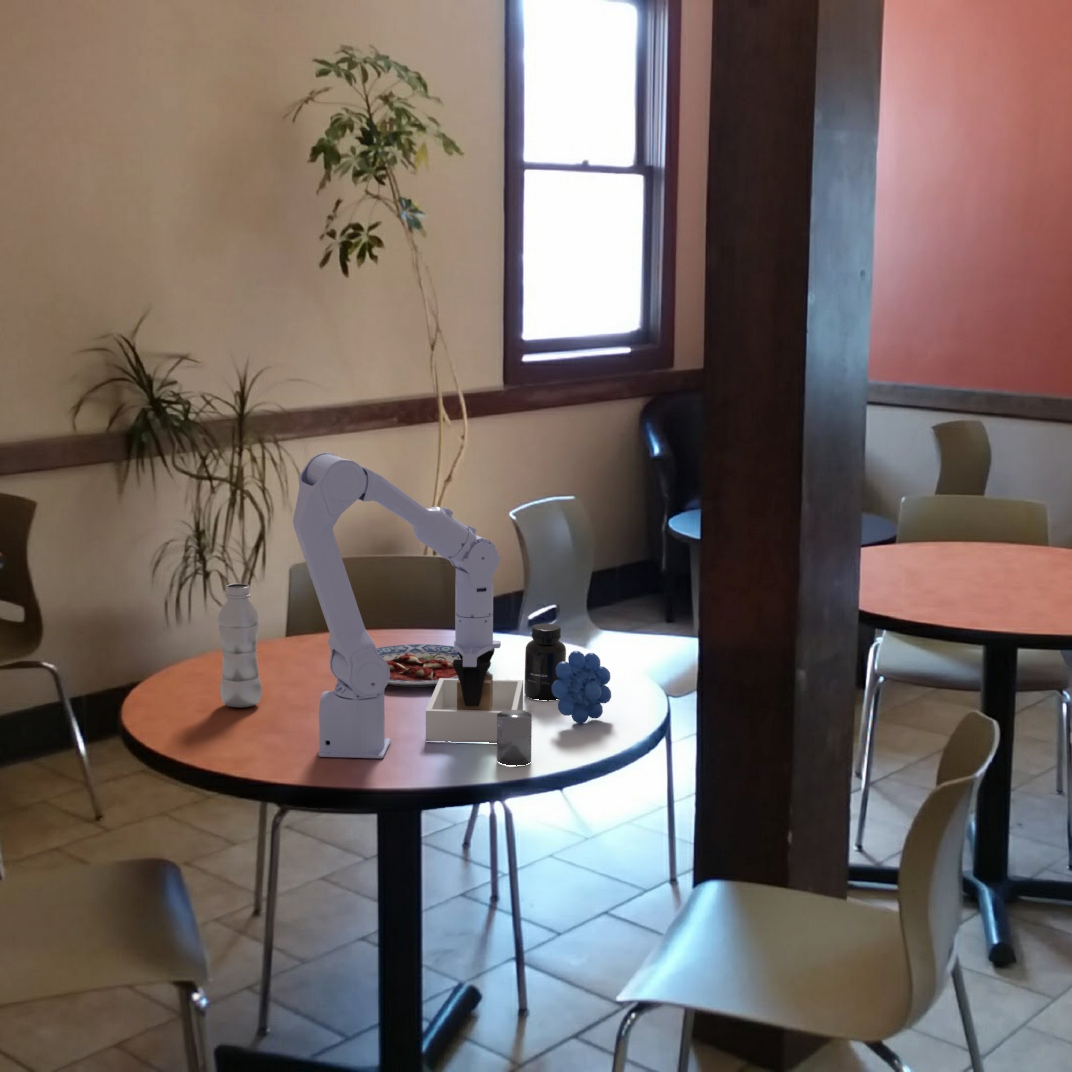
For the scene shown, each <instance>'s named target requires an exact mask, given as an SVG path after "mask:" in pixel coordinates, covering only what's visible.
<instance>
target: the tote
mask: <svg viewBox="0 0 1072 1072" xmlns="http://www.w3.org/2000/svg"><path fill="white" fill-rule="evenodd" d="M457 681H458V679H450V678H439V681H438V683H437V685H436V686H435V688H434V690H433V693H432V694H431V697H430V699H429V703H428V704H427V707H426V708H425V742H426V741H445V742H448V741H451V742H489V743H497V714H498V713H499V712H502V711H507V710H522V711H524V680H522V679H521V680H520V679H493V705H492V709H491V711H478V710H457Z"/></svg>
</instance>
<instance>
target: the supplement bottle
mask: <svg viewBox="0 0 1072 1072" xmlns="http://www.w3.org/2000/svg"><path fill="white" fill-rule="evenodd" d="M561 632H562V629H561V626H559V625H557V624H553V623H539V624H538V623H536V624H534V625H532V627H531V638H532V640H530V641H529V642H528V643H527V644H526V646H525V655H524V656H525V657H524V683H523V694H524V695H525V696H526V698H528V697H529V698H528V699H530V698H532V699H531V700H533V699H539V700H547V701H546V702H550V701H549V700H555V701H557V700H556V699H559V698H557V697H555V696H554V695H553V693H552V684H553V683H554V681H556V680H561V679H560V678H558V676H557V674H556V666H557V665H558V663H560V662H562V661H564V662H567V660H566V659H567V658H566V657H567V648H566V646H565V644H564V643H563V642H562V641H561V640H560V639H562V635H561ZM559 700H560V699H559Z"/></svg>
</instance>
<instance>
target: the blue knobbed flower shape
mask: <svg viewBox="0 0 1072 1072" xmlns="http://www.w3.org/2000/svg"><path fill="white" fill-rule="evenodd" d="M567 660H568V661H566V662H564V661H562V662H560V663H558V665H557V666H556V674H557V676H558V678H560V679H561V680H556V681H554V683H553V684H552V693H553V695H554V696H555V697H557V698H559V700H558V702H557V710H558V711H559V713H560V714H561V715H563V716H567V717H568V716H569V717H570V716H571V719H572V720H573V721H574V722H575V723H576V724H584V723H586V722H587V721H588V719H589V718H590V719H598V718H600V717H601V716H602V714H603V711H604V710H603V705H602V704H608V703H609V702H610V700H611V699H612V691H611V689H610V687H609V686H607V684H608V683H610V681H611V672H610V670H609V669H608V668H606V667H605V666H601V659H600V657H599V655H598V654H595V653H594V652H588V653H586V654H584V653H583V652H581V651H579V650H573V651H571V652H570V654H569V655H568V659H567Z"/></svg>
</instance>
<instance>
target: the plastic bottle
mask: <svg viewBox="0 0 1072 1072" xmlns="http://www.w3.org/2000/svg"><path fill="white" fill-rule="evenodd" d="M250 588H251V587H250V585H249V584H246V583H231V584H227V585H226V587H225V592H226V593H225V598H226V599H227V600H226V602H225V603H224V605H223V606H222V607H221V609H220V610H219V612H218V616H217V626H218V629H219V630H218V631H219V636H220V639H221V640H220V641H221V649H222V650H221V651H222V670H221V671H222V673H221V680H220V685H219V688H220V689H219V694H220V697H221V699H220V700H221V701H222V702H223V704H224V705H225V706H227V707H229V708H248V707H253V706H256V705H257V704H259V702H260V700H261V699H262V692H263V689H262V682H261V678H260V676H259V675H260V674H259V665H258V658H257V657H258V655H257V654H258V651H257V649H258V633H259V626H260V625H259V623H260V616H259V613H258V611H257V609H256V608H255V606H254V605H253V604H252V602H251V601H250V599H249V598H250V597H251V589H250Z"/></svg>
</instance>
